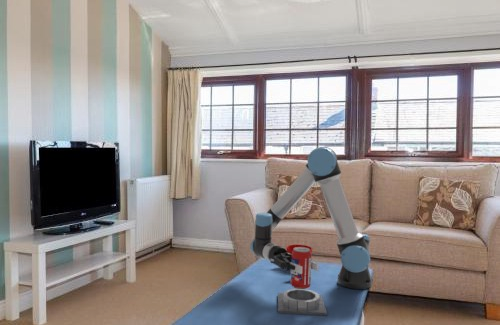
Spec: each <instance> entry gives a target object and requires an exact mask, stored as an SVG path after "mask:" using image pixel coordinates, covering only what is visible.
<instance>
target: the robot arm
mask: <svg viewBox="0 0 500 325" xmlns="http://www.w3.org/2000/svg"><path fill="white" fill-rule="evenodd" d="M304 167H305V169H304V170H303V171H302V172H301V173H300V174H299V176H298V177H297V178H296V179H295V180H294V181H293V182H292V183H291V185H290V186H289V187H288V188H287V189H286V190H285V191H284V192H283V194H282V195H280V197H279V198H278V200H277V201H276V202H275V203H274V204H273V205H272V206H271V207H270V209H268V210H267V211H266V212H258V213H256V214H255V219H254V225H255V226H254V228H255V229H254V239H252V240H251V241H250V246H249V247H250V251H251V252H252V253H253V255H256V256H257V257H260V258H261V259H265V260H267V261H269V262H270V264H273V265H275V266H277V267H279V268H280V269H282V270H285V269H286V271H288V272H289V271H291V270H293V271H295V272H298V273H300V274H302V266H300V265H298V264H294V263H292V262H291V254H290V253H288V252H287V248H285V247H284V246H281V245H279V244H276V243H272V234H273V230H274V229H275V228H277V226H278V225H279V223H280V222H281V221H282V220H283V219H284V218H285V217H286V216H287V214H289V212H290V211H291V210H292V209H293V208H294V207H295V206H296V205H297V203H298V202H299V201H300V200H301V199H302V198H303V197H304V196H305V195H306V194H307V192H308V191H309V190H310V189H311V188H312V187H313V186H314V184H317V185H319V186H320V189H321V192H322V194H323V198H324V200H325V203H326V206H327V209H328V212H329V215H330V217H331V220H332V223H333V226H334V229H335V232H336V234H337V237H338V238H337V240H336V243H335V244H336V245H337V249H338V252H339V254H340V262H341V267H340V270H339V273H338V276H337V284H338V285H339V286H342V287H344V288H348V289H353V290H354V289H355V290H365V289H370V288H371V287H372V284H373V283H372V282H373V280H372V276H371V273H370V269H369V266H370V263H371V254H370V242H371V240H370V236H369V235H368V234H366V233H365V234H364V233H361V232H359V230H358V228H357V224H356V223H355V220H354V217H353V213H352V209H351V208H350V206H349V202H348V199H347V197H346V196H347V195H346V194H345V191H344V187H343V185H342V182H341V179H340V178H341V176H342V172H341V171H342V170H341V168H340V166H339V163H338V156H337V154H336V152H335V150H333V149H332V148H330V147H327V146H320V147H316V148H314V149H313V150H312V151H311V152H310V153H309V155H308V157H307V163H306V164H305V166H304ZM319 266H320V264H319V263H318V262H315V261H313V260H312V261H311V270H314V271H315V272H316V271H317V272H318V271H319Z"/></svg>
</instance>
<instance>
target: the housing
mask: <svg viewBox="0 0 500 325" xmlns="http://www.w3.org/2000/svg"><path fill="white" fill-rule="evenodd" d="M277 307H278V308H277V312H278V314H286V315H287V314H288V315H308V316H328V311H327V309H326V308H327V307H326V304H325V302H324V299H323V296H322V294H319V293H318V292H316V291H314V290H310V289H308V288H306V289H296V288H290V289H287V290H285V291H283V293H282V292H281V293H279V292H278V293H277Z"/></svg>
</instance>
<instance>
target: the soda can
mask: <svg viewBox="0 0 500 325" xmlns="http://www.w3.org/2000/svg"><path fill="white" fill-rule="evenodd" d="M312 255H313V253H312V254H311V252H310V249H309V248H305V247H296V248H294V249H293V251H292V254H291V262H292V263H294V264H298V265H300V266H302V274H300V273H298V272H295V271H293V270H291V269H290V271H291V273H290V285H291V287H293V289H308V288H310V287H311V285H312V280H311V279H312V277H311V276H312V269H311V261H313V258H312V257H313V256H312Z"/></svg>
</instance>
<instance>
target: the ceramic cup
mask: <svg viewBox="0 0 500 325" xmlns="http://www.w3.org/2000/svg"><path fill="white" fill-rule="evenodd" d="M296 247H305V248H309V249H310V252H311V254H312V255H313V248H312V247H311V246H310V245H304V244H289V245H287V246H286V251H287V252H288V253H290V254H292V251H293V249H294V248H296Z"/></svg>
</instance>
